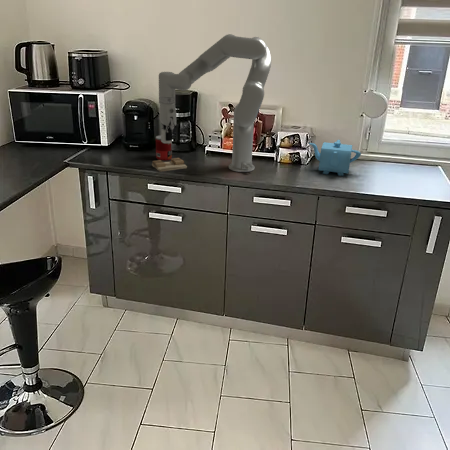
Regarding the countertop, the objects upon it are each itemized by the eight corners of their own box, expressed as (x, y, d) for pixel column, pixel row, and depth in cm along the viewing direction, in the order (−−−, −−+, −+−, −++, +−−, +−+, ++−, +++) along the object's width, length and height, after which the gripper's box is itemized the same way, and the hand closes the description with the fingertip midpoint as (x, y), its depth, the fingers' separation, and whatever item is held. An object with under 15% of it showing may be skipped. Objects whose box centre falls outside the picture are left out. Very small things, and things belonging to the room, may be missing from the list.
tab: (171, 143, 231) (172, 129, 228) (163, 143, 229) (164, 129, 226) (168, 141, 233) (169, 127, 231) (161, 141, 232) (161, 127, 229)
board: (187, 168, 234) (187, 163, 233) (160, 171, 228) (159, 166, 227) (178, 162, 242) (178, 157, 241) (152, 165, 236) (152, 160, 235)
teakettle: (360, 175, 234) (365, 145, 228) (331, 180, 225) (335, 149, 219) (334, 164, 248) (338, 135, 242) (305, 168, 240) (308, 139, 234)
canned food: (170, 160, 244) (170, 139, 239) (155, 160, 244) (154, 138, 239) (172, 156, 251) (172, 135, 246) (157, 155, 251) (156, 134, 246)
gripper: (182, 103, 218) (181, 143, 226) (167, 96, 231) (167, 134, 239) (166, 103, 215) (166, 144, 223) (152, 97, 228) (153, 135, 236)
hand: (167, 138), depth 231 cm, fingers closed on tab, 3 cm apart
